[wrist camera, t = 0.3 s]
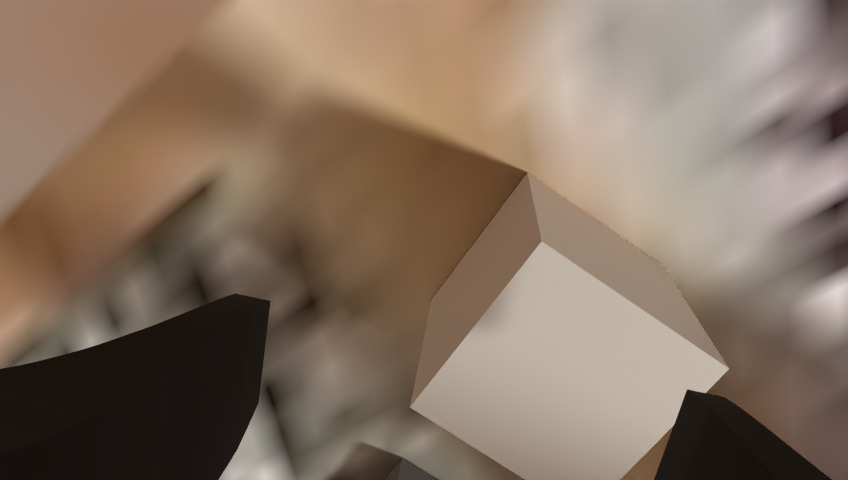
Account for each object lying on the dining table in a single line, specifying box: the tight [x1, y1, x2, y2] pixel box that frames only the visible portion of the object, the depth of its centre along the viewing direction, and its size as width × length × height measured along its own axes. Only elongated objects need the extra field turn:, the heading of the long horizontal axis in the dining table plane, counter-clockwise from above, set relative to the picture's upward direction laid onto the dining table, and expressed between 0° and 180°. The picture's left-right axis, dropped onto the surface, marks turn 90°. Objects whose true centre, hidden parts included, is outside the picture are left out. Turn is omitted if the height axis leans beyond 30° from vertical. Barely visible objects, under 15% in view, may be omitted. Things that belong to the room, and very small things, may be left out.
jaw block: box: [410, 172, 729, 480], centre depth 18 cm, size 5×5×6 cm
